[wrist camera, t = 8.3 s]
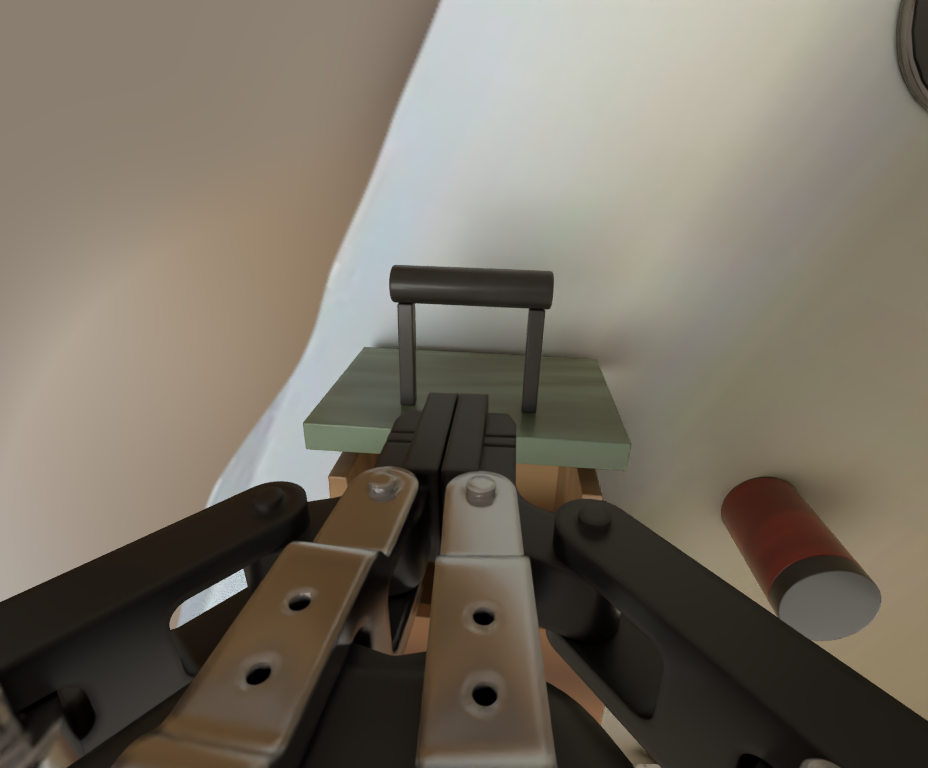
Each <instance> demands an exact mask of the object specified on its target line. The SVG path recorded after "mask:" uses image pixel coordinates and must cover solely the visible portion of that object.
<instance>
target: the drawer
mask: <svg viewBox="0 0 928 768" xmlns="http://www.w3.org/2000/svg"><path fill="white" fill-rule="evenodd" d="M553 288H554V275H553V272H552V271H536V270H511V269H486V268H461V267H435V266H410V265H394V266H393V267H392V269H391V272H390V280H389V289H390V296H391V299H392V301H393V302H398V305H397V307H398V339H399V349H390V348H371V347H364V348H363V349H362V351H361V352H360V353H359V354H358V356H357V357H356V358H355V359H354V361H353V362H352V363H351V364H350V365H349V367H348V368H347V369H346V370H345V372H344V373H343V374H342V375H341V377H340V378H339V379H338V380H337V382H336V383H335V384H334V385H333V386H332V388H331V389H330V390H329V391H328V393H327V394H326V395H325V396H324V398H323V399H322V400H321V401H320V403H319V404H318V405H317V406H316V408H315V409H314V410H313V411H312V412H311V414H310V415H309V416H308V417H307V419H306V420H305V421H304V422H303V427H304V436H305V444H306V449H312V450H327V451H342V454H341V456H340V457H339V459H338V461H337V462H336V464H335V466H334V467H333V469H332V471H331V472H330V474H329V476H328V479H329V489H330V498H335V497H339V496H342V495H343V493H344V492H345V490H346V488H347V487H348V485H349V484H350V482H351V481H352V480H353V479H354V478H355V477H356V476H357V475H359V474H360V473H362V472H364V471H367V470H369V469H373V468H374V466H375V464H376V462H377V459H378V457H379V455H380V453H381V451H382V448H383V446H384V444H385V442H386V441H387V437H388V435H389V433H391V429H392V427H393V424H394V422H395V420H396V419H397V418H398V417H400V416H401V415H402V414H403V413H405V412H406V411H407V410H423V408H424V405H425V403H426V400H427V397H428V395H429V393H430V392H442V393H458V395H460V393H472V394H488V397H489V407H488V413H504V414H509V415H510V417H511V418H512V419H513V420H514V422H515V423H516V488H517V490H518V492H519V494H520V495H521V496H522V497H523V498H524V499H525V500H526V501H527V502H529V503H530V504H532V505H534V506H536V507H538V508H541V509H544V510H547V511H551V512H554V513H556V511H557V510H558V509H559V507H561V506H562V505H563V504H565V503H567V502H569V501H572V500H576V499H596V500H601V501H602V493H601V489H600V485H599V482H598V478H597V474H596V470H595V469H606V470H621V471H626V470H627V466H628V460H629V454H630V449H631V442H630V440H629V438H628V435H627V433H626V430H625V428H624V425H623V423H622V420H621V418H620V415H619V413H618V411H617V408H616V406H615V403H614V401H613V398H612V396H611V393H610V391H609V388H608V386H607V384H606V381H605V379H604V376H603V374H602V371H601V369H600V366H599V364H598V361H597V360H596V359H581V358H562V357H543V356H541V353H542V342H543V330H544V319H545V309H550V308H551V305H552V299H553ZM415 303H420V304H442V305H464V306H486V307H508V308H529V310H528V324H527V337H526V351H525V356H524V355H505V354H486V353H466V352H447V351H428V350H416V322H415ZM434 571H435V562H430V561H428V563H427V567H426V572H425V575H424V577H423V584H424V590H423V595H422V598H421V601H420V604H431V602H432V592H433V582H434Z"/></svg>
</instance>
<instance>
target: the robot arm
mask: <svg viewBox="0 0 928 768" xmlns="http://www.w3.org/2000/svg"><path fill="white" fill-rule="evenodd" d="M897 51H898V59H899V63H900V68H901V71H902V74H903V77H904V80H905V82H906V84H907V86H908V88H909V90H910V91H911V93H912V94H913V96H914V97H915V99H916V100H917V101H918V102H919V103H920V104H921V105H922V106H923V107H924V108H925V109H926V110H927V111H928V0H902V3H901V7H900V12H899V18H898V27H897ZM488 407H489V397H488V394H472V393H460V395H458V393H442V392H430V393H429V395H428V397H427V400H426V403H425V405H424V408H423V410H407V411H406V412H405V413H403V414H402V415H401V416H400V417H398V418H397V419H396V420H395V422H394V424H393V427H392V429H391V433H389V435H388V437H387V441H386V442H385V444H384V446H383V448H382V451H381V453H380V455H379V457H378V459H377V462H376V464H375V466H374V468H373V469H369V470H367V471H364V472H362V473H360V474H359V475H357V476H356V477H355V478H354V479H353V480H352V481H351V482H350V484H349V485H348V487H347V488H346V490H345V492H344V493H343V495H342V496H339V497H335V498H330V499H323V500H317V501H310V502H307V497H306V492H305V490H304V489H303V488H302V487H301V486H299V485H297V484H294V483H291V482H283V481H280V482H269V483H264V484H261V485H258V486H255V487H253V488H250V489H248V490H246V491H244V492H242V493H239V494H237V495H235V496H233V497H231V498H228V499H226V500H224V501H222V502H220V503H217V504H215V505H213V506H211V507H209V508H206V509H204V510H202V511H200V512H198V513H196V514H193V515H191V516H189V517H187V518H184V519H182V520H180V521H178V522H176V523H174V524H171V525H169V526H167V527H165V528H162V529H160V530H158V531H156V532H154V533H151V534H149V535H147V536H145V537H143V538H140V539H138V540H136V541H134V542H132V543H130V544H127V545H125V546H123V547H121V548H118V549H116V550H114V551H112V552H110V553H107V554H105V555H103V556H101V557H99V558H96V559H94V560H92V561H90V562H88V563H85V564H83V565H81V566H79V567H77V568H74V569H72V570H70V571H68V572H66V573H63V574H61V575H59V576H57V577H55V578H52V579H50V580H48V581H46V582H44V583H42V584H39V585H37V586H35V587H33V588H31V589H28V590H26V591H24V592H22V593H19V594H17V595H15V596H13V597H11V598H9V599H6V600H4V601H2V602H0V768H635V767H634V766H633V764H632V763H631V762H630V761H629V760H628V758H627V757H626V756H625V755H624V753H623V752H622V751H621V750H620V748H619V747H618V746H617V745H616V744H615V742H614V741H613V740H612V739H611V737H610V736H609V735H608V734H607V733H606V731H605V730H604V729H603V728H602V727H601V725H600V724H599V723H598V722H597V721H596V720H595V718H594V717H593V716H592V715H590V714H589V713H588V712H587V711H586V710H585V709H584V708H583V707H582V706H581V705H580V704H579V703H578V702H577V701H575V700H574V699H573V698H571V697H570V696H569V695H568V694H566V693H565V692H563V691H562V690H560V689H558V688H557V687H555V686H554V685H552V684H550V683H548V682H546V679H545V671H544V663H543V656H542V648H541V641H540V633H539V627H541V628H544V629H546V636H547V639H548V641H549V643H550V645H551V646H552V647H553V648H554V650H555V651H556V652H557V653H558V654H559V655H560V656H561V657H562V659H563V660H564V661H565V662H566V663H567V664H568V665H569V666H570V667H571V669H572V670H573V671H574V672H575V673H576V674H577V675H578V676H579V677H580V678H581V680H582V681H583V682H584V683H585V684H586V685H587V686H588V687H589V688H590V690H591V691H592V692H593V693H594V694H595V695H596V696H597V697H598V698H599V699H600V701H601V702H602V703H603V704H604V705H605V706H606V707H607V708H608V709H609V711H610V712H611V713H612V714H613V715H614V716H615V717H616V718H617V719H618V720H619V722H620V723H621V724H622V725H623V726H624V727H625V728H626V729H627V730H628V732H629V733H630V734H631V735H632V736H633V737H634V738H635V739H636V740H637V741H638V743H639V744H640V745H641V746H642V747H643V748H644V749H645V750H646V751H647V753H648V754H649V755H650V756H651V757H652V758H653V759H654V760H655V761H656V762H657V764H658V765H659V766H660V767H661V768H928V721H927V720H925V719H924V718H922V717H921V716H920V715H918V714H917V713H915V712H914V711H912V710H911V709H909V708H908V707H907V706H905V705H904V704H902V703H901V702H899V701H898V700H896V699H895V698H894V697H892V696H891V695H889V694H888V693H886V692H885V691H883V690H882V689H880V688H879V687H878V686H876V685H875V684H873V683H872V682H870V681H869V680H867V679H866V678H865V677H863V676H862V675H860V674H859V673H857V672H856V671H854V670H853V669H852V668H850V667H849V666H847V665H846V664H844V663H843V662H841V661H840V660H839V659H837V658H836V657H834V656H833V655H831V654H830V653H828V652H827V651H825V650H824V649H823V648H821V647H820V646H818V645H817V644H815V643H814V642H812V641H811V640H810V639H808V638H807V637H805V636H804V635H802V634H801V633H799V632H798V631H797V630H795V629H794V628H792V627H791V626H789V625H788V624H786V623H785V622H784V621H782V620H781V619H779V618H778V617H776V616H775V615H773V614H772V613H770V612H769V611H768V610H766V609H765V608H763V607H762V606H760V605H759V604H757V603H756V602H755V601H753V600H752V599H750V598H749V597H747V596H746V595H744V594H743V593H742V592H740V591H739V590H737V589H736V588H734V587H733V586H731V585H730V584H729V583H727V582H726V581H724V580H723V579H721V578H720V577H718V576H717V575H715V574H714V573H713V572H711V571H710V570H708V569H707V568H705V567H704V566H702V565H701V564H700V563H698V562H697V561H695V560H694V559H692V558H691V557H689V556H688V555H687V554H685V553H684V552H682V551H681V550H679V549H678V548H676V547H675V546H674V545H672V544H671V543H669V542H668V541H666V540H665V539H663V538H662V537H660V536H659V535H658V534H656V533H655V532H653V531H652V530H650V529H649V528H647V527H646V526H645V525H643V524H642V523H640V522H639V521H637V520H636V519H634V518H633V517H632V516H630V515H629V514H627V513H626V512H624V511H623V510H621V509H620V508H618V507H617V506H615V505H612V504H610V503H608V502H605V501H601V500H596V499H576V500H572V501H569V502H567V503H565V504H563V505H562V506H561V507H559V509H558V510H557V511H556V513H554V512H551V511H547V510H544V509H541V508H538V507H536V506H534V505H532V504H530V503H529V502H527V501H526V500H525V499H524V498H523V497H522V496H521V495H520V494H519V492H518V490H517V488H516V423H515V422H514V420H513V419H512V418H511V417H510V415H509V414H504V413H488ZM428 561H430V562H435V571H434V582H433V592H432V602H431V612H430V622H429V632H428V642H427V651H425V652H418V653H412V654H405V655H404V652H405V649H406V646H407V643H408V640H409V636H410V633H411V630H412V627H413V624H414V620H415V617H416V614H417V611H418V608H419V604H420V601H421V598H422V595H423V590H424V584H423V577H424V575H425V572H426V567H427V563H428ZM241 569H244V573H245V577H246V581H247V585H248V587H247V588H245V589H244V590H242V591H240V592H238V593H237V594H235V595H233V596H232V597H230V598H228V599H226V600H225V601H223V602H221V603H220V604H218V605H216V606H214V607H213V608H211V609H209V610H208V611H206V612H204V613H202V614H201V615H199V616H197V617H196V618H194V619H192V620H190V621H189V622H187V623H185V624H184V625H182V626H180V627H178V628H176V629H172V630H170V627H169V622H170V618H171V616H172V614H173V613H174V611H175V610H176V609H177V607H178V606H179V605H181V604H182V603H183V602H184V601H186V600H187V599H189V598H191V597H193V596H194V595H196V594H198V593H200V592H202V591H203V590H205V589H207V588H209V587H211V586H212V585H214V584H216V583H218V582H220V581H221V580H223V579H225V578H227V577H229V576H230V575H232V574H234V573H236V572H238V571H239V570H241Z"/></svg>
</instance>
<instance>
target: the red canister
mask: <svg viewBox="0 0 928 768" xmlns="http://www.w3.org/2000/svg"><path fill="white" fill-rule="evenodd" d="M721 516H722V520H723V523H724V524H725V526H726V528H727V530H728V531H729V533H730V535H731V537H732V538H733V540H734V542H735V544H736V545H737V547H738V549H739V551H740V552H741V554H742V556H743V558H744V559H745V561H746V563H747V565H748V566H749V568H750V570H751V572H752V573H753V575H754V577H755V579H756V580H757V582H758V584H759V586H760V587H761V589H762V591H763V592H764V594H765V596H766V598H767V599H768V601H769V603H770V605H771V606H772V608H773V610H774V612H775V613H776V615H777V617H778V618H779V619H781V620H782V621H784V622H785V623H786V624H788V625H789V626H791V627H792V628H794V629H795V630H797V631H798V632H799V633H801V634H802V635H804V636H805V637H807V638H808V639H810V640H813V641H830V640H836V639H841V638H844V637H847V636H850V635H852V634H854V633H856V632H858V631H860V630H862V629H863V628H865V627H866V626H867V625H868V624H869V623H870V622H871V621H872V620H873V619H874V618H875V617H876V615H877V613H878V612H879V609H880V607H881V594H880V591H879V588H878V587H877V585H876V584H875V583H874V581H873V580H872V579H871V578H870V577H869V576H868V574H867V573H866V572H865V571H864V570H863V569H862V567H861V566H860V565H859V564H858V563H857V561H856V560H855V559H854V558H853V557H852V556H851V554H850V553H849V552H848V551H847V550H846V548H845V547H844V546H843V545H842V544H841V543H840V541H839V540H838V539H837V538H836V537H835V536H834V534H833V533H832V532H831V531H830V530H829V528H828V527H827V526H826V525H825V524H824V523H823V521H822V520H821V519H820V518H819V517H818V516H817V514H816V513H815V512H814V511H813V510H812V508H811V507H810V506H809V505H808V504H807V503H806V501H805V500H804V499H803V498H802V497H801V496H800V494H799V493H798V492H797V491H796V490H795V489H794V488H793V487H792V486H791V485H790V484H789V483H787V482H785V481H782V480H780V479H775V478H757V479H752V480H749V481H746V482H744V483H742V484H740V485H739V486H737V487H736V488H734V489H733V490H732V491H731V492H730V493H729V494H728V495H727V497H726V498H725V500H724V502H723V505H722V509H721Z"/></svg>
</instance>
